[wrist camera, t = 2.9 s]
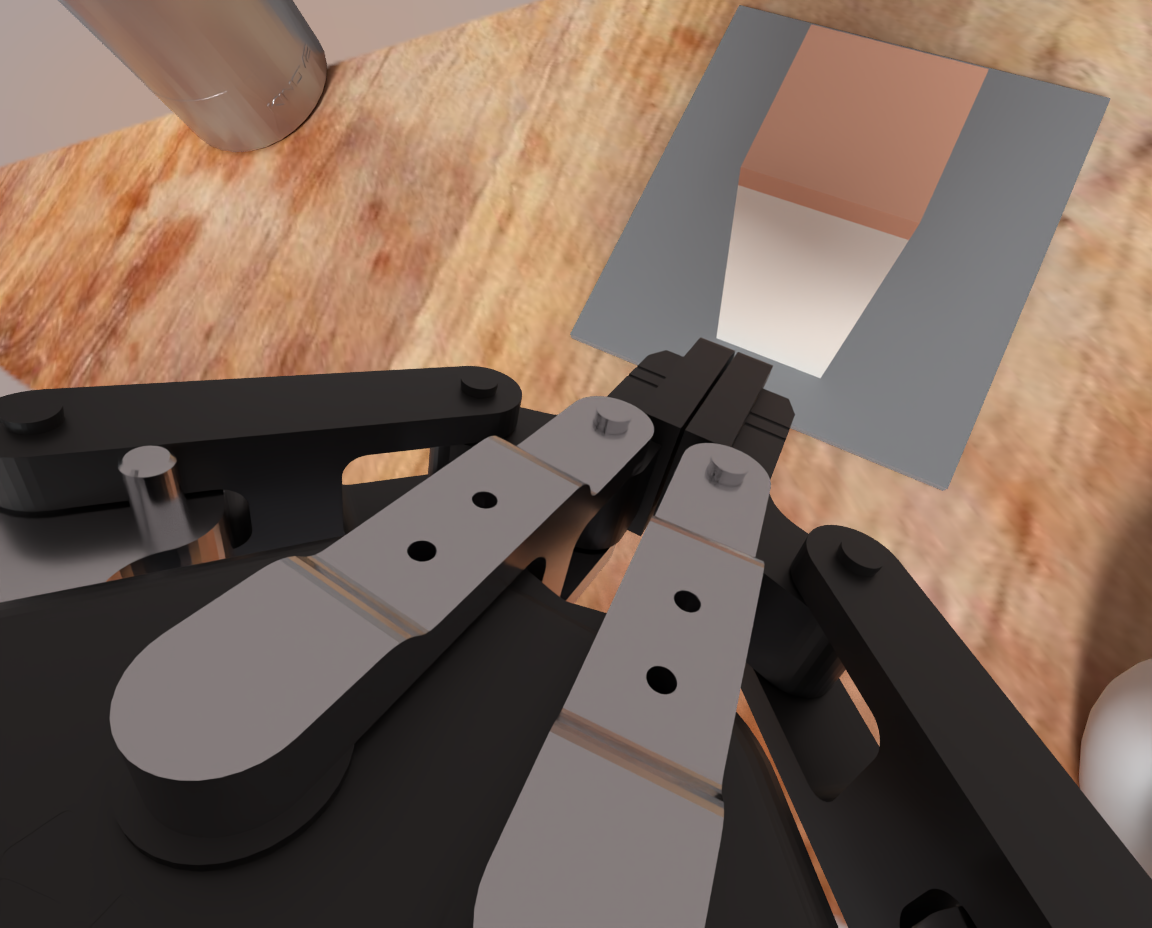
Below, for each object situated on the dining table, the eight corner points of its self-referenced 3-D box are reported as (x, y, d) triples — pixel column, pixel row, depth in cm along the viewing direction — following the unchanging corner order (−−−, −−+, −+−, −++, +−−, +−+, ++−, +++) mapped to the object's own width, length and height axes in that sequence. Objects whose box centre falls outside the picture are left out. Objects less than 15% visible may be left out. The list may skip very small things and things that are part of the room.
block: (716, 338, 29) (740, 166, 18) (760, 247, 30) (811, 24, 18) (820, 378, 28) (919, 223, 16) (863, 283, 29) (988, 68, 17)
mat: (571, 338, 31) (570, 334, 30) (738, 13, 33) (739, 5, 33) (942, 490, 27) (947, 488, 26) (1103, 106, 29) (1110, 98, 29)
